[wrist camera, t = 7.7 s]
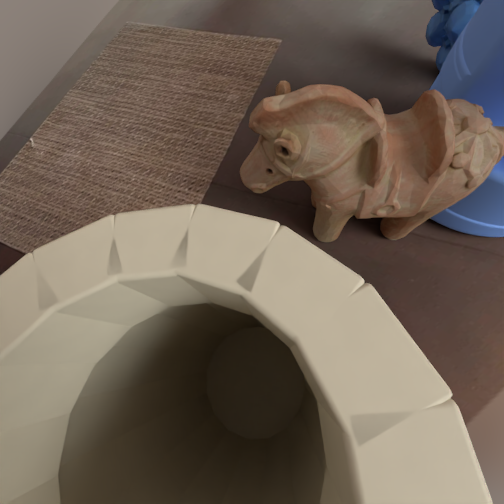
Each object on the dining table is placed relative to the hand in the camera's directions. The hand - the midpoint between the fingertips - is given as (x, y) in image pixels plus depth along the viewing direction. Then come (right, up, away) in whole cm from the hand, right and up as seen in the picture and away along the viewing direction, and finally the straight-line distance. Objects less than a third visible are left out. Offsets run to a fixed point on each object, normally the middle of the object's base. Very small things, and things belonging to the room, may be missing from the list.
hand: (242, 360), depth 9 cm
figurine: (+9, +7, +15) cm, 19 cm away
